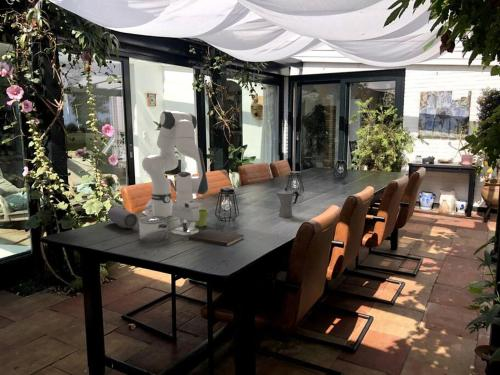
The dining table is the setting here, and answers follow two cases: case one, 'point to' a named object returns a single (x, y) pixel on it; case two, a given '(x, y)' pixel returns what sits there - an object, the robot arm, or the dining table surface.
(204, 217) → the plant pot
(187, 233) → the lid
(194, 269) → the dining table surface
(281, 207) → the coffeepot
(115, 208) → the bluetooth speaker
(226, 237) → the hardcover book
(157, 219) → the cooker
